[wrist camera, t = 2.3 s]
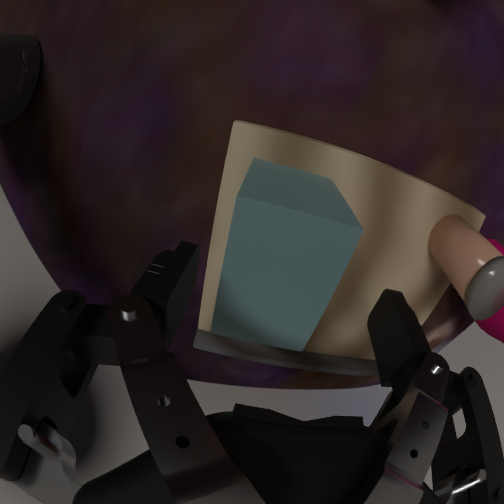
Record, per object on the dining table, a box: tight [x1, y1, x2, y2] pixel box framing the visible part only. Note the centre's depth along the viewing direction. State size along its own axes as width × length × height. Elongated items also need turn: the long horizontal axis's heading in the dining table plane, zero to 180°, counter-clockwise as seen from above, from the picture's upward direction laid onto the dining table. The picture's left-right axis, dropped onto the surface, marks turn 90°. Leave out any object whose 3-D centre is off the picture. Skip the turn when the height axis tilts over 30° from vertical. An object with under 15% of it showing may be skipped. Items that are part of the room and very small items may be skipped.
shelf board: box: [193, 120, 486, 377], centre depth 19 cm, size 20×18×3 cm
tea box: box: [210, 158, 363, 351], centre depth 14 cm, size 5×7×7 cm
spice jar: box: [428, 214, 504, 320], centre depth 14 cm, size 4×4×7 cm
